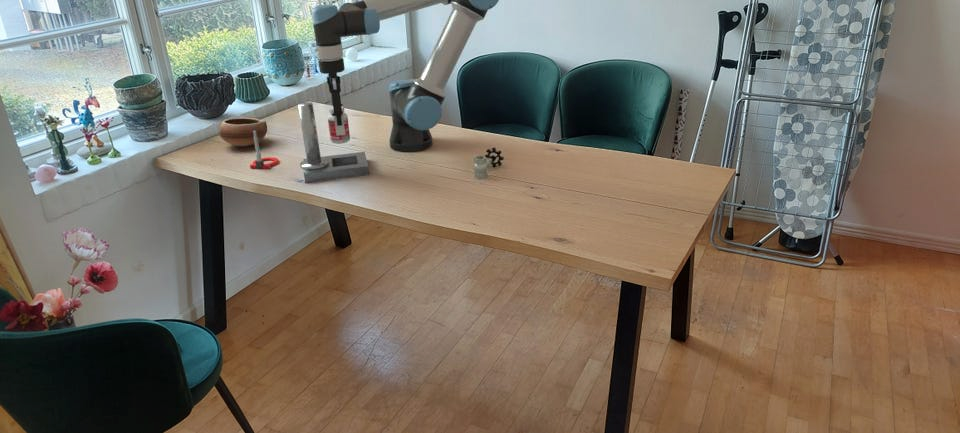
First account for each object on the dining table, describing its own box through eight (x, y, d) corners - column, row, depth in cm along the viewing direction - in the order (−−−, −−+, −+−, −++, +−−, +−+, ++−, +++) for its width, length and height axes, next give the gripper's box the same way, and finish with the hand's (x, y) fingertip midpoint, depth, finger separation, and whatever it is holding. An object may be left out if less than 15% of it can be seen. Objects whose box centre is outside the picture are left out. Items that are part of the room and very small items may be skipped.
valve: (487, 181, 209) (504, 168, 218) (486, 161, 206) (503, 148, 215) (468, 178, 211) (485, 165, 221) (467, 158, 209) (485, 146, 218)
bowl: (276, 141, 251) (272, 115, 247) (242, 155, 239) (237, 128, 235) (248, 136, 259) (243, 110, 255) (213, 148, 247) (208, 122, 243)
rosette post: (365, 160, 230) (357, 93, 220) (369, 174, 217) (360, 104, 207) (301, 167, 226) (290, 99, 216) (301, 183, 213) (290, 111, 203)
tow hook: (260, 160, 235) (247, 168, 227) (254, 123, 230) (241, 131, 222) (283, 160, 234) (271, 169, 226) (277, 124, 229) (265, 131, 221)
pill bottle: (344, 145, 214) (340, 111, 209) (327, 143, 216) (322, 109, 211) (353, 138, 219) (349, 105, 214) (337, 136, 221) (332, 103, 216)
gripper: (317, 53, 214) (327, 124, 224) (318, 66, 197) (329, 142, 207) (341, 51, 216) (350, 121, 226) (345, 64, 199) (354, 139, 209)
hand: (340, 131), depth 216 cm, fingers closed on pill bottle, 6 cm apart
